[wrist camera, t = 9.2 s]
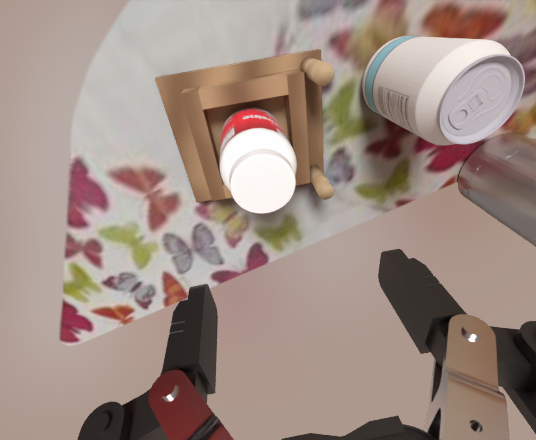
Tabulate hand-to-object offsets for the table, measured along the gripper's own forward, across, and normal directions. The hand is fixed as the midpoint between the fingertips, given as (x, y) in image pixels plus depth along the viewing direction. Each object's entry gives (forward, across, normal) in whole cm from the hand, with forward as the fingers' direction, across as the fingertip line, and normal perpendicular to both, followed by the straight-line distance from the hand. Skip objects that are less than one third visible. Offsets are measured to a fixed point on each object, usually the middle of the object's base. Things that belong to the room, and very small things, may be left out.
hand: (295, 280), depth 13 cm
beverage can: (+21, -14, -4) cm, 26 cm away
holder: (+21, +1, -1) cm, 21 cm away
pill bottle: (+20, +1, 0) cm, 20 cm away
